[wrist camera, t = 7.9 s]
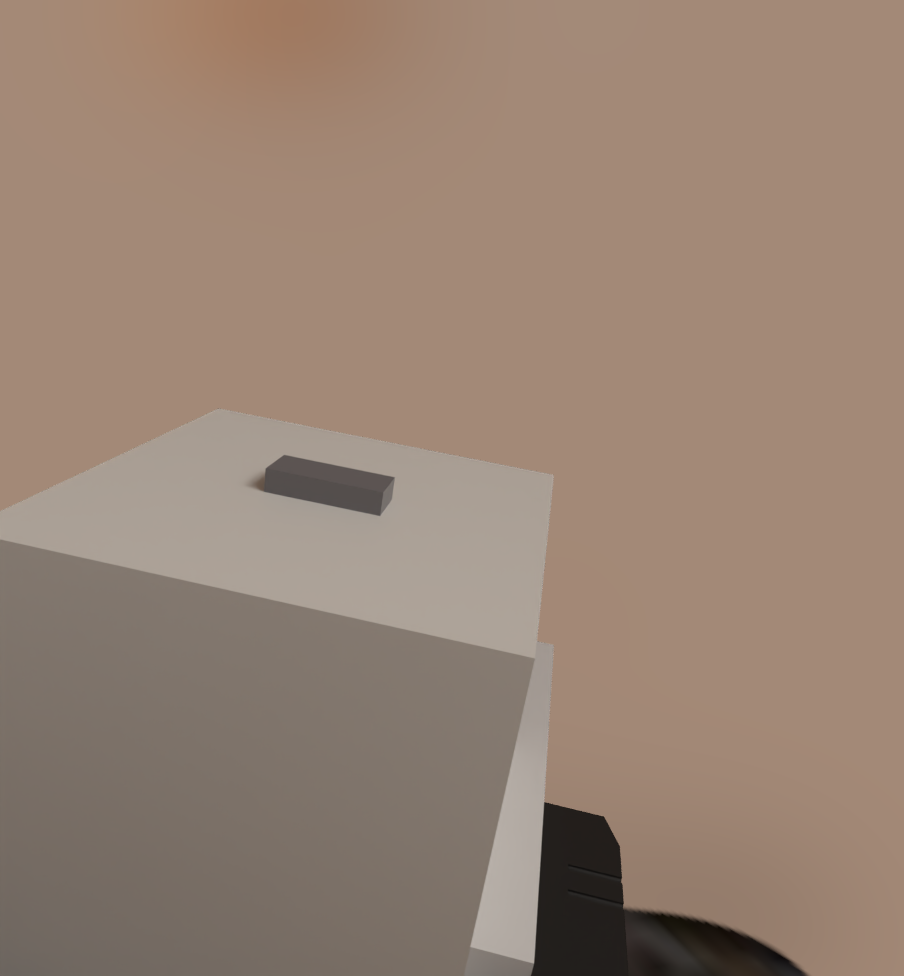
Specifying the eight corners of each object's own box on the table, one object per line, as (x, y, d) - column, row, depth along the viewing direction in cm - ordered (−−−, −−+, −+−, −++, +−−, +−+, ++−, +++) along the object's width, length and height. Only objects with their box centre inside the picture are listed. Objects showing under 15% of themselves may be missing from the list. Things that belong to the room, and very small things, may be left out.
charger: (15, 1419, 10) (-43, 499, 6) (181, 1071, 14) (219, 389, 10) (339, 1529, 10) (541, 627, 5) (412, 1139, 14) (557, 456, 10)
